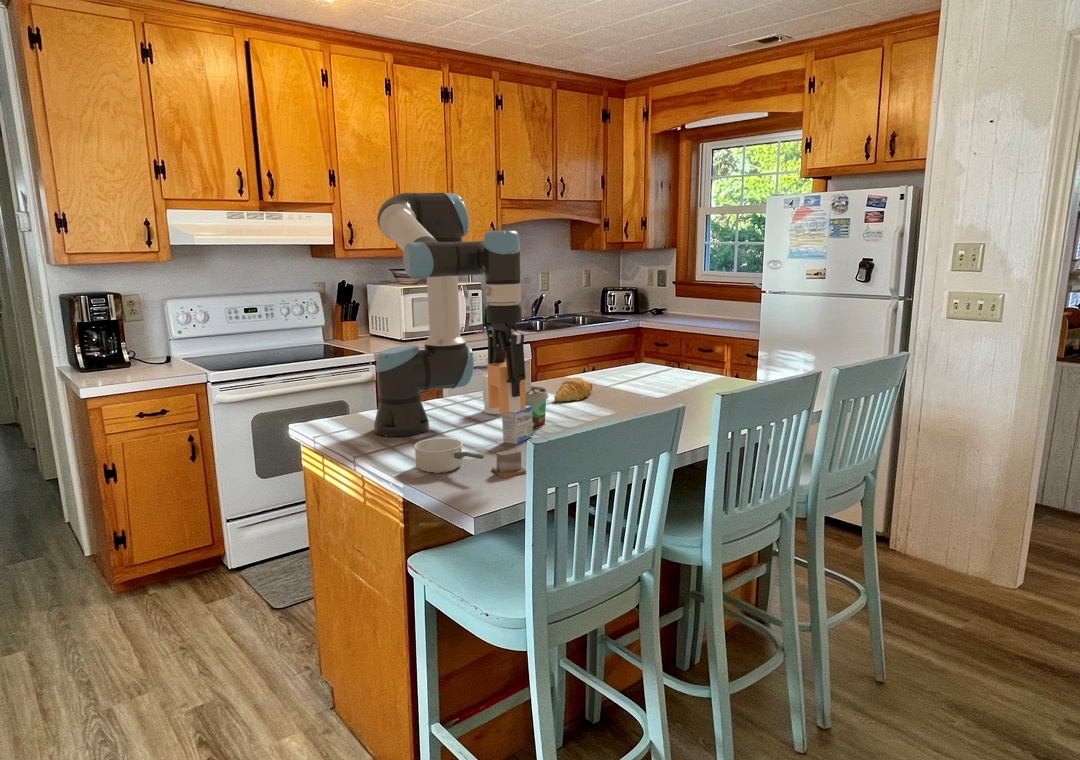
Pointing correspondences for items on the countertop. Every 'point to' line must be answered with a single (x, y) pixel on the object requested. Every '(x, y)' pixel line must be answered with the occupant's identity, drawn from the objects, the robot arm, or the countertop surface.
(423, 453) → the saucepan
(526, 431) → the medicine box
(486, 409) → the white squeeze bottle
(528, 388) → the supplement box
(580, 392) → the croissant
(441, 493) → the countertop surface
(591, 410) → the countertop surface
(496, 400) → the tall orange brick
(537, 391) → the food container
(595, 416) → the countertop surface
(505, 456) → the sponge on coaster
